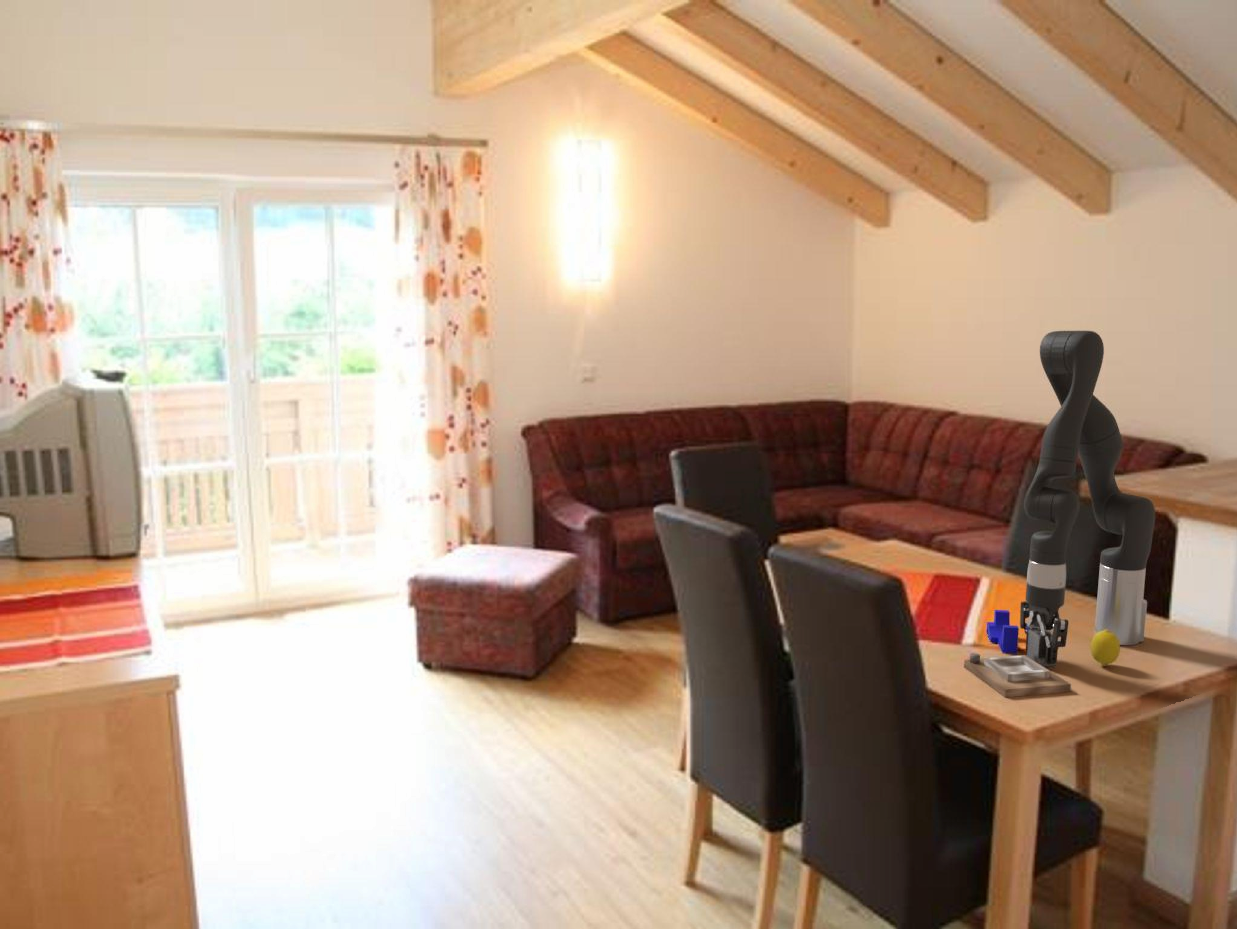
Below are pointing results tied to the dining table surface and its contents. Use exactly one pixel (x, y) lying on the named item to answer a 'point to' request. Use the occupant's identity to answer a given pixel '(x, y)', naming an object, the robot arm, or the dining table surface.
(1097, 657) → the lemon
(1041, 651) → the hinge block
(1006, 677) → the door panel
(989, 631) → the cable clip
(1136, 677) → the dining table surface
